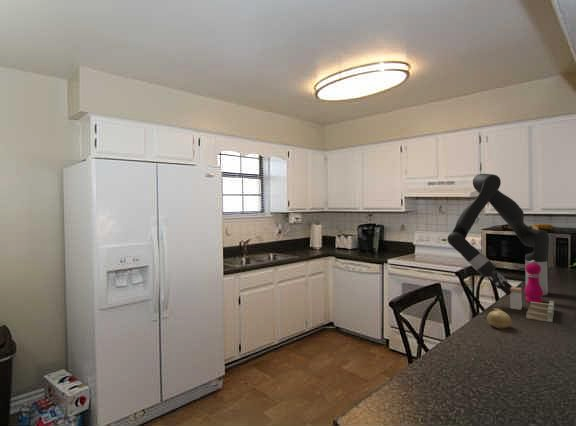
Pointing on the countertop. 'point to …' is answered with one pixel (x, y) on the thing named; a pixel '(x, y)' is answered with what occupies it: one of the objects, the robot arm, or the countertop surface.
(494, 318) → the onion
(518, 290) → the plug
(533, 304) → the comb rack
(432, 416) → the countertop surface
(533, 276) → the pepper mill
